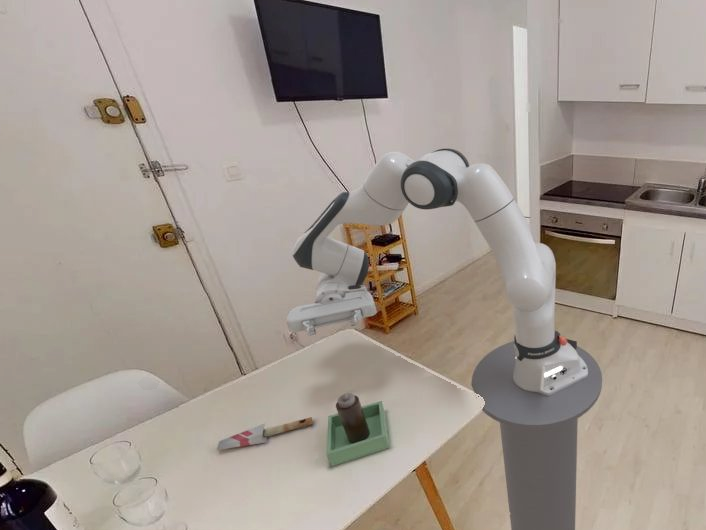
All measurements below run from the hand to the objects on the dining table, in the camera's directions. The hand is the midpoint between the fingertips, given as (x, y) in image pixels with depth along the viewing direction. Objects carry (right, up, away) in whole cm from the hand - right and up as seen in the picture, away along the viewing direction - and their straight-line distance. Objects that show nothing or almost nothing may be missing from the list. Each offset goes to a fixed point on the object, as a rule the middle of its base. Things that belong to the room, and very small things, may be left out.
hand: (332, 328), depth 97 cm
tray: (+5, -27, +3) cm, 28 cm away
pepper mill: (+5, -27, +2) cm, 27 cm away
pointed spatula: (-18, -27, +4) cm, 33 cm away
